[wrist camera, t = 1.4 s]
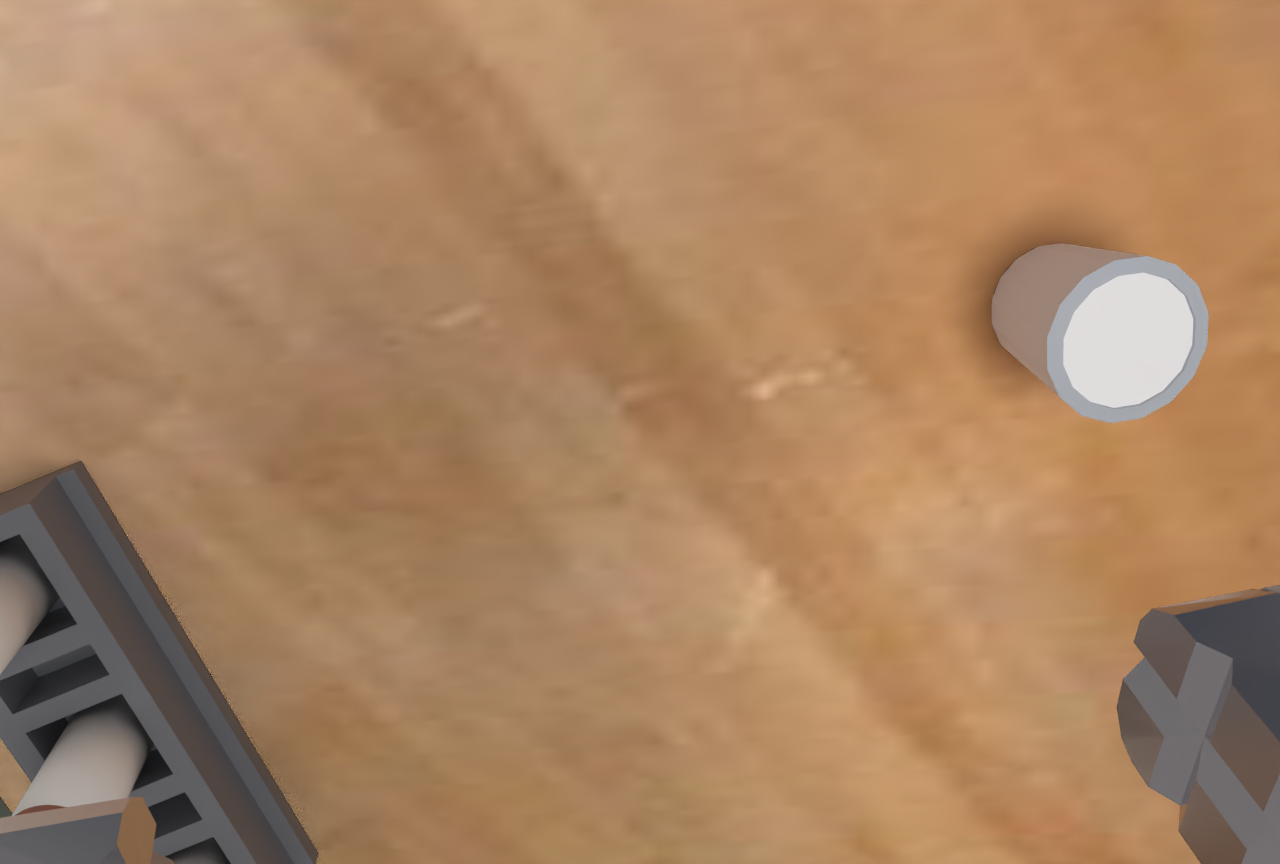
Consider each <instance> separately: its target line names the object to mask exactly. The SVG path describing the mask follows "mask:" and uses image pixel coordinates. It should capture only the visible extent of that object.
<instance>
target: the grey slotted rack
mask: <svg viewBox="0 0 1280 864" xmlns="http://www.w3.org/2000/svg"><path fill="white" fill-rule="evenodd" d="M18 534H20V535H21V537H22V539H23V540H24V542H25V543H26V545H27V546H28V548H29V549H30V551H31V553H32V554H33V556H34V557H35V559H36V560H37V562H38V563H39V565H40V567H41V568H42V570H43V571H44V573H45V574H46V576H47V578H48V579H49V581H50V582H51V584H52V585H53V587H54V588H55V590H56V592H57V593H58V595H59V596H60V598H59V599H58V600H57V602H56V603H55V604H54V605H53V607H52V608H51V609H50V611H49V612H48V613H47V615H46V616H45V617H44V619H43V620H42V621H41V622H40V624H39V625H38V626H37V628H36V629H35V630H34V632H33V633H32V634H31V635H30V637H29V638H28V639H27V641H26V642H25V643H24V645H23V646H22V647H21V648H20V650H19V651H18V652H17V654H16V655H15V656H14V658H13V659H12V660H11V661H10V663H9V664H8V665H7V667H6V668H5V669H4V671H3V672H2V673H1V674H0V738H1V739H2V741H3V742H4V743H5V745H6V746H7V748H8V749H9V751H10V752H11V753H12V755H13V756H14V758H15V759H16V761H17V762H18V764H19V765H20V766H21V768H22V769H23V771H24V772H25V774H26V775H27V776H28V778H29V779H30V781H31V782H32V781H33V780H34V778H35V776H36V775H37V773H38V772H39V770H40V768H41V767H42V765H43V763H44V762H45V760H46V759H47V757H48V755H49V754H50V752H51V750H52V749H53V747H54V746H55V744H56V742H57V741H58V739H59V737H60V736H61V734H62V732H63V731H64V729H65V728H66V726H67V724H68V723H69V721H70V719H71V718H72V716H73V715H74V713H76V712H78V711H81V710H83V709H86V708H88V707H91V706H93V705H96V704H98V703H100V702H103V701H105V700H108V699H110V698H113V697H115V696H118V695H120V694H122V695H123V696H124V698H125V699H126V701H127V702H128V704H129V706H130V707H131V709H132V710H133V712H134V713H135V715H136V716H137V718H138V720H139V721H140V723H141V724H142V726H143V727H144V729H145V731H146V732H147V734H148V735H149V737H150V738H151V740H152V741H153V743H154V744H153V746H152V748H151V750H150V752H149V754H148V757H147V759H146V761H145V763H144V765H143V767H142V769H141V771H140V773H139V776H138V778H137V780H136V782H135V784H134V786H133V788H132V790H131V792H130V795H129V797H143V799H144V801H145V803H146V805H147V807H148V809H149V811H150V812H151V814H152V816H153V818H154V820H155V822H156V824H157V825H156V831H155V837H154V844H153V850H152V851H154V852H156V853H158V854H160V855H163V856H167V855H170V854H172V853H175V852H177V851H180V850H182V849H185V848H187V847H189V846H192V845H194V844H197V843H199V842H202V841H204V840H207V839H209V838H211V837H214V838H215V840H216V841H217V843H218V844H219V846H220V848H221V849H222V851H223V852H224V854H225V855H226V857H227V859H228V860H229V862H230V863H231V864H316V861H317V856H318V852H317V851H316V849H315V847H314V846H313V844H312V842H311V841H310V839H309V837H308V836H307V834H306V832H305V831H304V829H303V827H302V826H301V824H300V822H299V821H298V819H297V817H296V816H295V814H294V813H293V811H292V809H291V808H290V806H289V804H288V803H287V801H286V799H285V798H284V796H283V794H282V793H281V791H280V789H279V788H278V786H277V784H276V783H275V781H274V779H273V778H272V776H271V774H270V773H269V771H268V769H267V768H266V766H265V765H264V763H263V761H262V760H261V758H260V756H259V755H258V753H257V751H256V750H255V748H254V746H253V745H252V743H251V741H250V740H249V738H248V736H247V735H246V733H245V731H244V730H243V728H242V726H241V725H240V723H239V721H238V720H237V718H236V716H235V715H234V713H233V712H232V710H231V708H230V707H229V705H228V703H227V702H226V700H225V698H224V697H223V695H222V693H221V692H220V690H219V688H218V687H217V685H216V683H215V682H214V680H213V678H212V677H211V675H210V673H209V672H208V670H207V668H206V667H205V665H204V664H203V662H202V660H201V659H200V657H199V655H198V654H197V652H196V650H195V649H194V647H193V645H192V644H191V642H190V640H189V639H188V637H187V635H186V634H185V632H184V630H183V629H182V627H181V625H180V624H179V622H178V620H177V619H176V617H175V615H174V614H173V612H172V611H171V609H170V607H169V606H168V604H167V602H166V601H165V599H164V597H163V596H162V594H161V592H160V591H159V589H158V587H157V586H156V584H155V582H154V581H153V579H152V577H151V576H150V574H149V572H148V571H147V569H146V567H145V566H144V564H143V563H142V561H141V559H140V558H139V556H138V554H137V553H136V551H135V549H134V548H133V546H132V544H131V543H130V541H129V539H128V538H127V536H126V534H125V533H124V531H123V529H122V528H121V526H120V524H119V523H118V521H117V519H116V518H115V516H114V514H113V513H112V511H111V510H110V508H109V506H108V505H107V503H106V501H105V500H104V498H103V496H102V495H101V493H100V491H99V490H98V488H97V486H96V485H95V483H94V481H93V480H92V478H91V476H90V475H89V473H88V471H87V470H86V468H85V466H84V465H83V463H82V462H81V461H80V462H78V463H76V464H73V465H71V466H68V467H66V468H63V469H61V470H58V471H56V472H54V473H51V474H49V475H46V476H44V477H41V478H39V479H36V480H34V481H32V482H29V483H27V484H24V485H22V486H19V487H17V488H15V489H12V490H10V491H7V492H5V493H2V494H0V542H1V541H4V540H6V539H9V538H11V537H14V536H16V535H18ZM129 797H128V798H129Z"/></svg>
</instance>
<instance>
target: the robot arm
mask: <svg viewBox="0 0 1280 864" xmlns="http://www.w3.org/2000/svg"><path fill="white" fill-rule="evenodd" d="M1134 643H1135V645H1136V646H1137V647H1138V649H1139V650H1140V651H1141V653H1142V654H1143V655H1144V657H1145V658H1144V659H1143V660H1142V661H1141V662H1140V663H1139V664H1138V665H1137V666H1136V667H1135V668H1134V669H1133V670H1132V671H1131V672H1130V673H1129V674H1128V675H1127V676H1126V677H1125V678H1124V679H1123V682H1122V686H1121V690H1120V695H1119V699H1118V704H1117V712H1118V718H1119V725H1120V731H1121V738H1122V740H1123V742H1124V745H1125V747H1126V749H1127V752H1128V754H1129V756H1130V759H1131V761H1132V763H1133V764H1134V766H1135V767H1136V769H1137V770H1138V772H1139V774H1140V775H1141V777H1142V778H1143V780H1144V781H1145V783H1146V784H1147V786H1148V787H1150V788H1151V789H1153V790H1155V791H1156V792H1158V793H1160V794H1162V795H1163V796H1165V797H1167V798H1169V799H1170V800H1172V801H1174V802H1175V803H1177V804H1179V805H1180V814H1179V829H1178V831H1179V833H1180V834H1181V836H1182V837H1183V838H1184V840H1185V841H1186V843H1187V844H1188V846H1189V847H1190V849H1191V850H1192V851H1193V853H1194V854H1195V856H1196V857H1197V859H1198V860H1199V862H1200V863H1201V864H1280V585H1276V586H1271V587H1265V588H1262V589H1259V590H1258V589H1250V590H1245V591H1240V592H1235V593H1230V594H1224V595H1219V596H1214V597H1209V598H1204V599H1199V600H1194V601H1189V602H1184V603H1179V604H1174V605H1169V606H1163V607H1158V608H1153V609H1151V610H1150V611H1149V612H1148V613H1147V614H1146V615H1145V616H1144V617H1143V618H1142V619H1141V620H1140V623H1139V627H1138V630H1137V633H1136V636H1135V639H1134ZM156 825H157V824H156V822H155V820H154V818H153V816H152V814H151V812H150V811H149V809H148V807H147V805H146V803H145V801H144V799H143V797H129V798H123V799H117V800H110V801H104V802H98V803H91V804H85V805H79V806H72V807H66V808H60V809H53V810H47V811H41V812H34V813H28V814H22V815H15V816H9V817H2V818H0V864H174V862H173V860H171V859H169V858H167V857H165V856H163V855H160V854H158V853H156V852H154V851H152V850H153V844H154V837H155V831H156Z"/></svg>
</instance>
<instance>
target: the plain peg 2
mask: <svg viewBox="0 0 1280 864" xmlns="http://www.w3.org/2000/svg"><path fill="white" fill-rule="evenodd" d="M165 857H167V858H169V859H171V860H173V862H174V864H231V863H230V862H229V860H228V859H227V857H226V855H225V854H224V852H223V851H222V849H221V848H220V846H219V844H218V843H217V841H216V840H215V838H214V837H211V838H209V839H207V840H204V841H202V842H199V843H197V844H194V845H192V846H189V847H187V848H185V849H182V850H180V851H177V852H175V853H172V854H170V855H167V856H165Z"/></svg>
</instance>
